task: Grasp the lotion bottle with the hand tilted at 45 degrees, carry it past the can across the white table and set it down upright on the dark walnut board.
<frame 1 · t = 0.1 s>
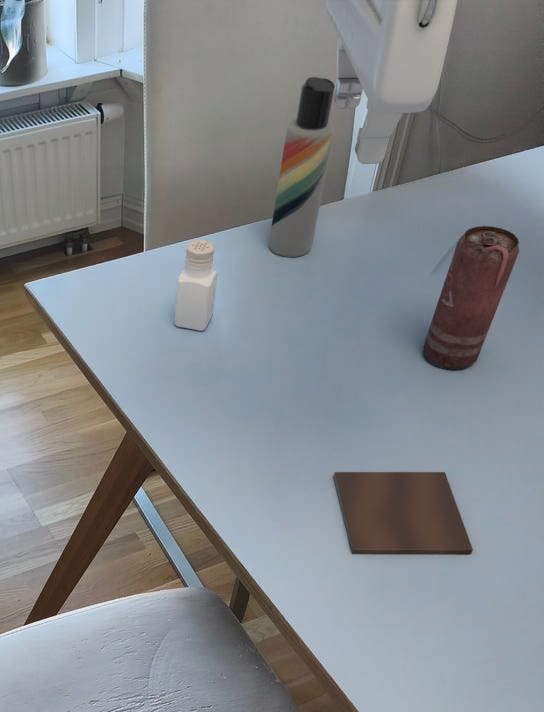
hand: (356, 131, 64), 33 cm above the table, tool pointing down, fingers open, 8 cm apart
salt shaker: (193, 323, 108), on the table
lotion bottle: (289, 248, 118), on the table
walnut board: (399, 513, 86), on the table
can: (449, 358, 102), on the table
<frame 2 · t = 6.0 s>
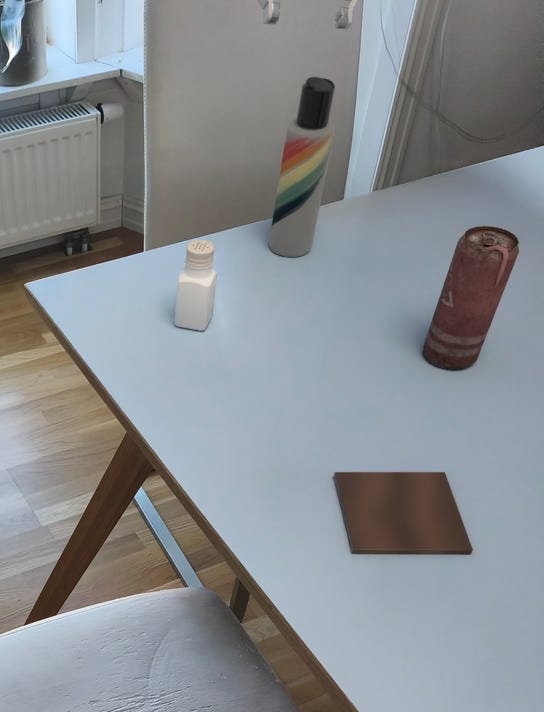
hand: (307, 24, 109), 22 cm above the table, tool tilted 40°, fingers open, 8 cm apart
nothing on the table moved.
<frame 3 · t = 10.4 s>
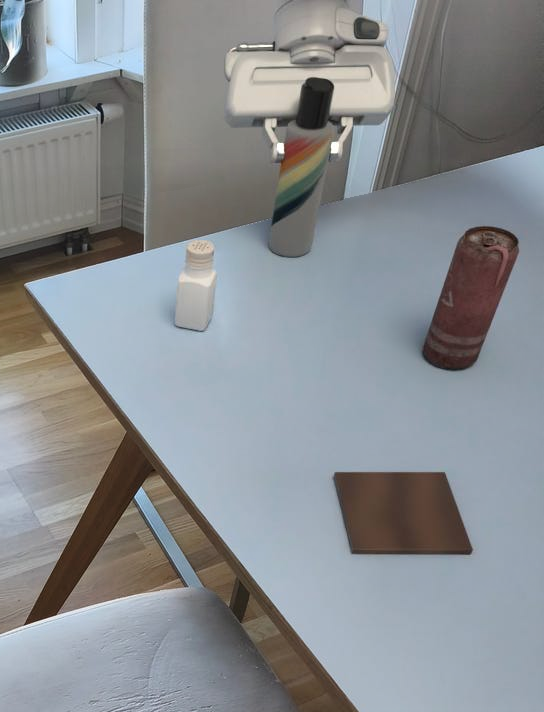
hand: (306, 160, 109), 11 cm above the table, tool tilted 45°, fingers closed on lotion bottle, 5 cm apart
lotion bottle: (289, 248, 118), on the table, touching gripper
everything else where it was.
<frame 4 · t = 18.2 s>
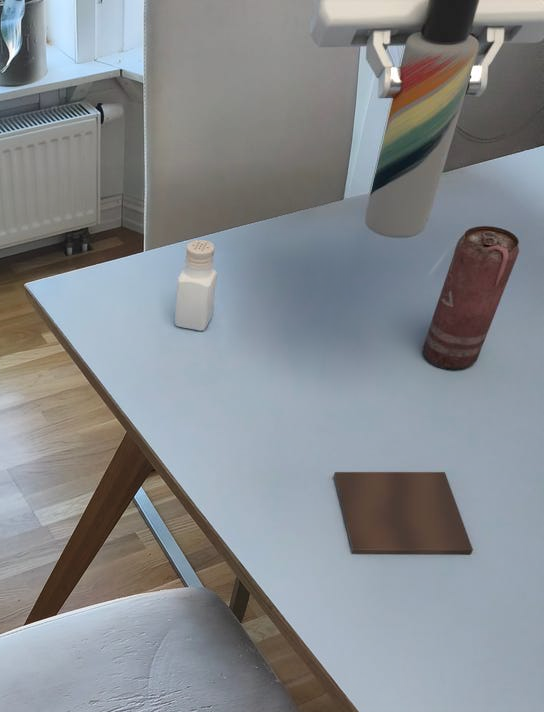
hand: (432, 94, 74), 30 cm above the table, tool tilted 45°, fingers closed on lotion bottle, 5 cm apart
lotion bottle: (394, 226, 83), point 19 cm above the table, touching gripper
everything else where it was.
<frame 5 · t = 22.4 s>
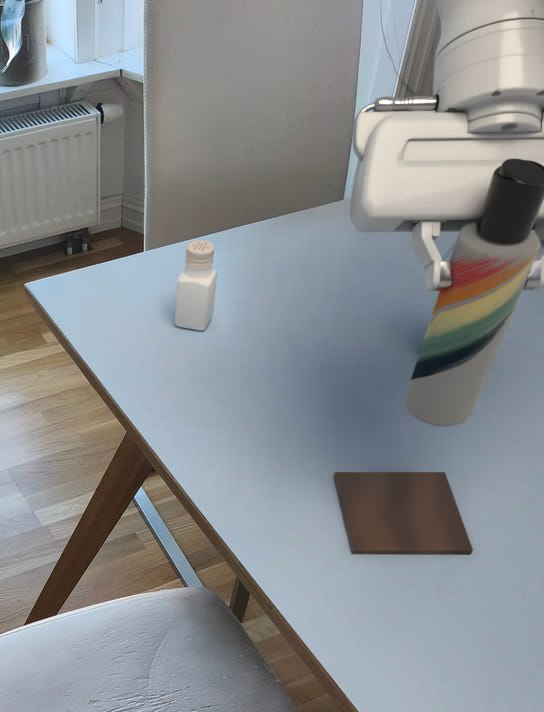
hand: (485, 288, 67), 24 cm above the table, tool tilted 45°, fingers closed on lotion bottle, 5 cm apart
lotion bottle: (436, 409, 76), point 12 cm above the table, touching gripper
everything else where it was.
when the fingers open (12 cm above the table, at t = 26.0 s): lotion bottle stays where it is, resting on walnut board.
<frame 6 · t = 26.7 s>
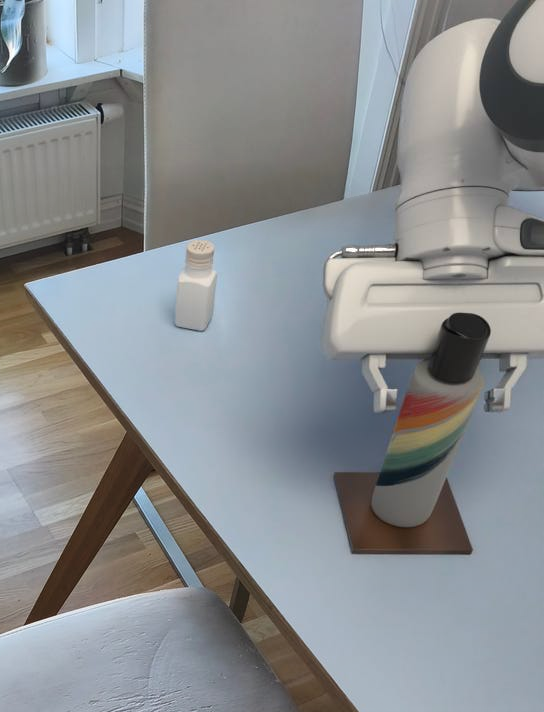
hand: (440, 411, 76), 12 cm above the table, tool tilted 45°, fingers open, 8 cm apart
lotion bottle: (399, 510, 85), resting on walnut board
everything else where it was.
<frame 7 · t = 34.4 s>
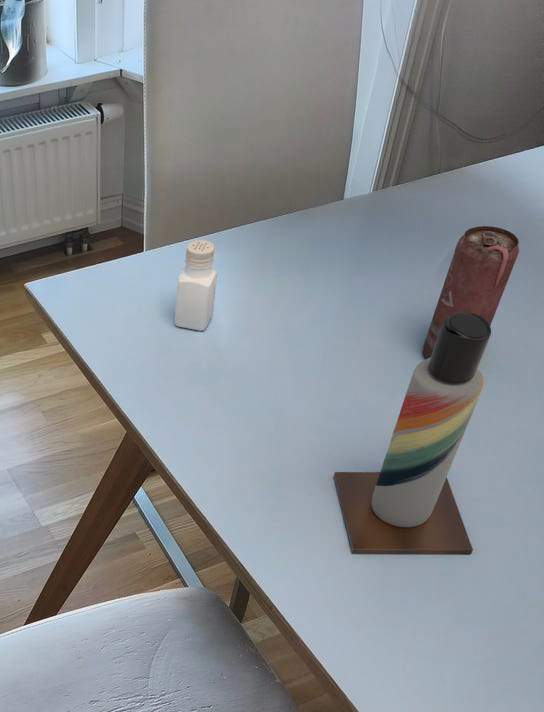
nothing on the table moved.
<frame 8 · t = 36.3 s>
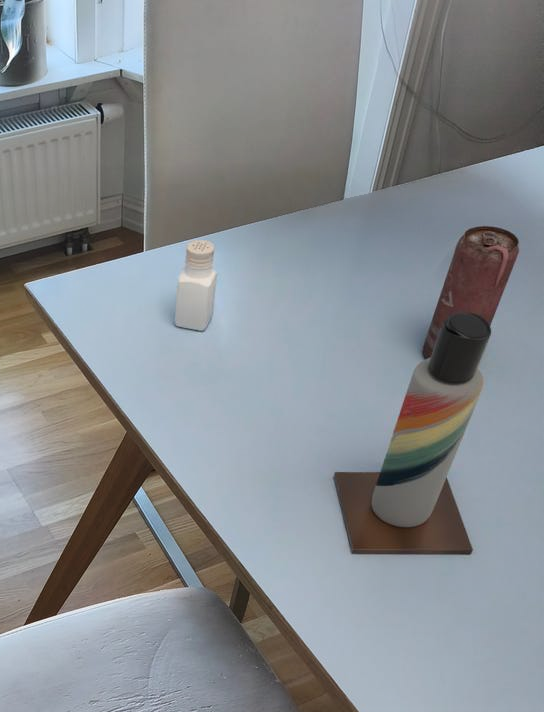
nothing on the table moved.
at the end: lotion bottle inside the target area on the walnut board (0.1 cm from its centre), point 0.4 cm above the walnut board's base; lotion bottle tilted 0°; the gripper is holding nothing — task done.
